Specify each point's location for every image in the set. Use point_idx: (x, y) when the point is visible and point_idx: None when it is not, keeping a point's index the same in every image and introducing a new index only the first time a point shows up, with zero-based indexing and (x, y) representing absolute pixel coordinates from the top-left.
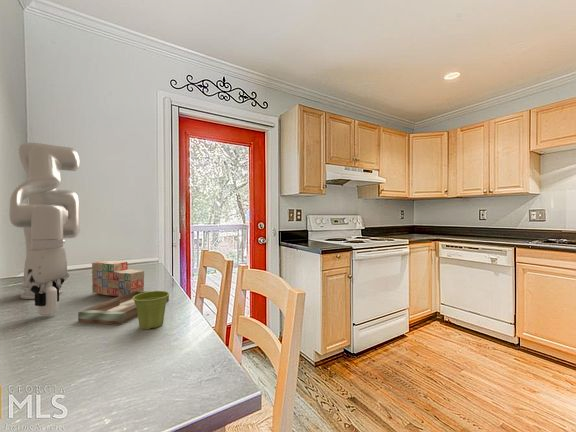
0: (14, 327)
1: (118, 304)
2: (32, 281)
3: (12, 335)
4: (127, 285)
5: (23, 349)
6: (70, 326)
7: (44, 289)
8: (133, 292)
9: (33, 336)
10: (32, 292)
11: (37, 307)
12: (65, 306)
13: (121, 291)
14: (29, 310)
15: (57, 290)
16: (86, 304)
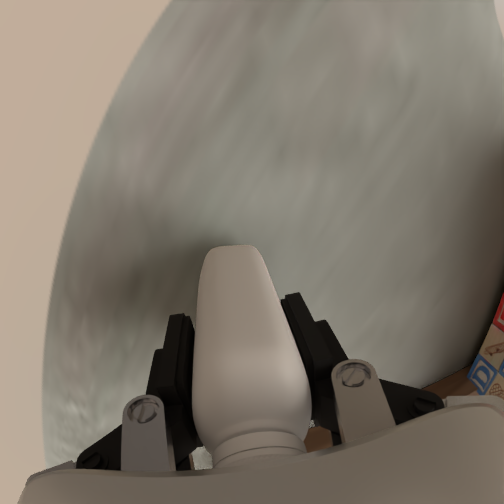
0: (80, 301)
1: None
2: (120, 481)
3: (60, 378)
4: (499, 396)
5: (72, 460)
6: (198, 451)
7: (210, 452)
8: (477, 395)
9: (100, 432)
10: (128, 403)
11: (204, 271)
12: (398, 186)
13: (498, 352)
14: (282, 40)
15: (312, 418)
16: (434, 264)
